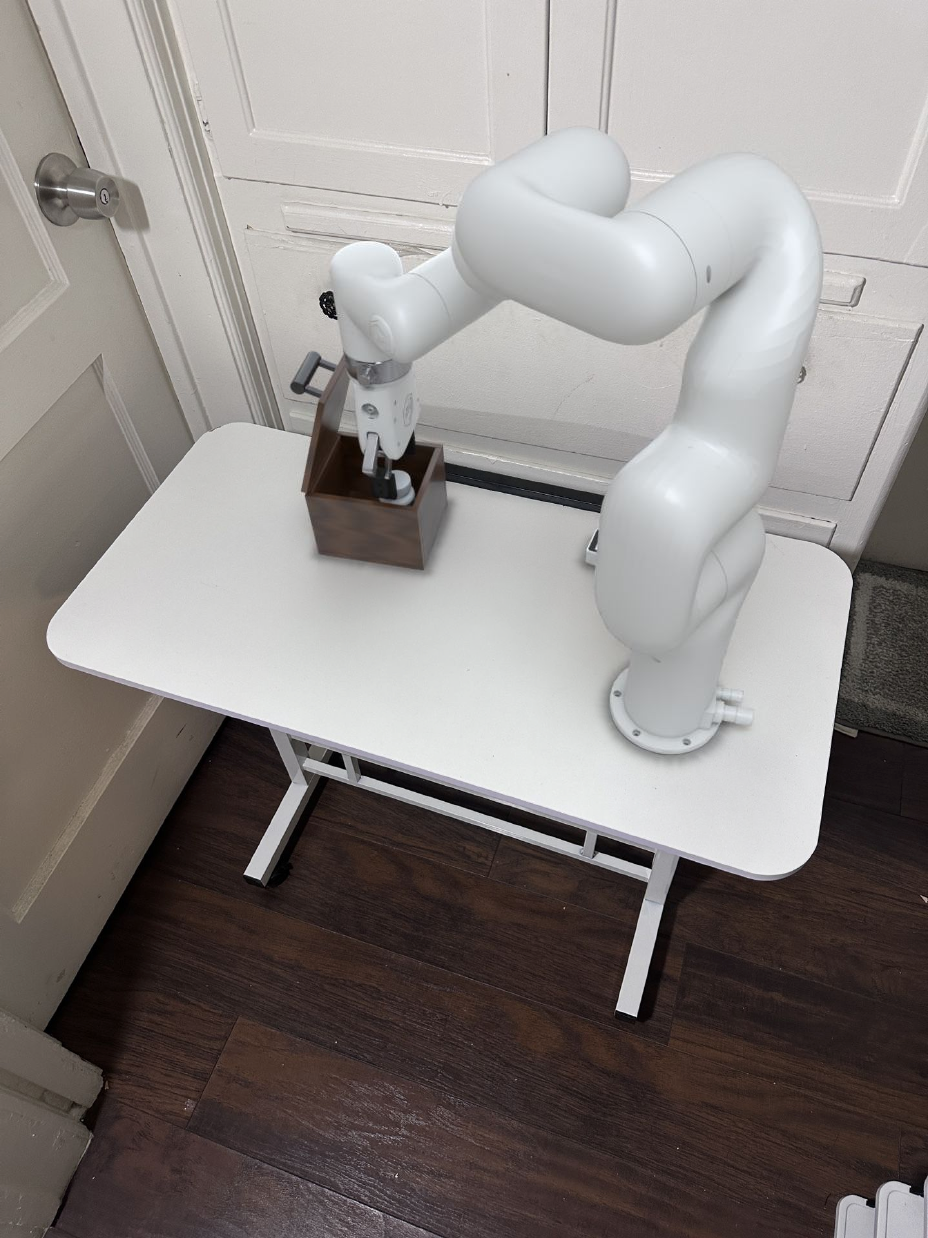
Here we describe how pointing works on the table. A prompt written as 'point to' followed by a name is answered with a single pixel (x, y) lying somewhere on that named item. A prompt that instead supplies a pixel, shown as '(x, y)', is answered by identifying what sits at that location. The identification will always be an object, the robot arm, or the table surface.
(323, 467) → the chest
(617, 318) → the robot arm
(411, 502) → the pill bottle
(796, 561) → the table surface
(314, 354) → the chest lid
